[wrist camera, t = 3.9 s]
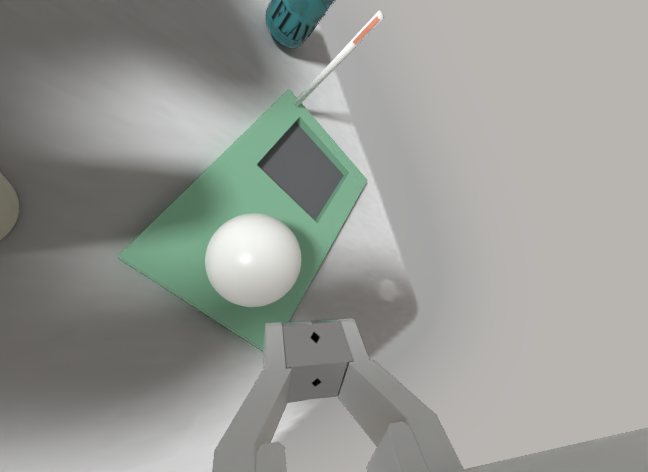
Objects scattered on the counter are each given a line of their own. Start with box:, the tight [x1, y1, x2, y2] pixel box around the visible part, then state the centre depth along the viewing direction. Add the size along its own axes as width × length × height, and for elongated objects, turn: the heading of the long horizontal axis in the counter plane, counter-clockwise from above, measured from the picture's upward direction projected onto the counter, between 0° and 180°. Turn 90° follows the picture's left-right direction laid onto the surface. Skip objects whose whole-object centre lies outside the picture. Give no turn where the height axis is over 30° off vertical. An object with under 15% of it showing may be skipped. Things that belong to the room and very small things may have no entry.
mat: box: [117, 11, 384, 352], centre depth 29 cm, size 30×18×18 cm, turn 148°
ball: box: [205, 213, 301, 307], centre depth 27 cm, size 9×9×9 cm
